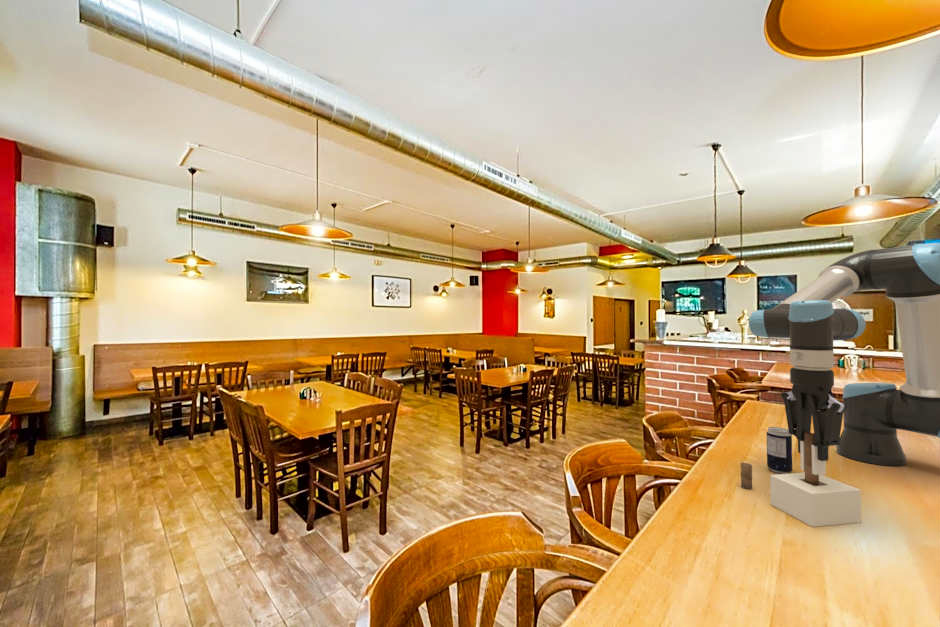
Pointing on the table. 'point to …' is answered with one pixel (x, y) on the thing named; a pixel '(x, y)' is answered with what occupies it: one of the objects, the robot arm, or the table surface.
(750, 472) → the short pin
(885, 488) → the table surface
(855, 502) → the hole block
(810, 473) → the long pin
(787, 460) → the beverage can
